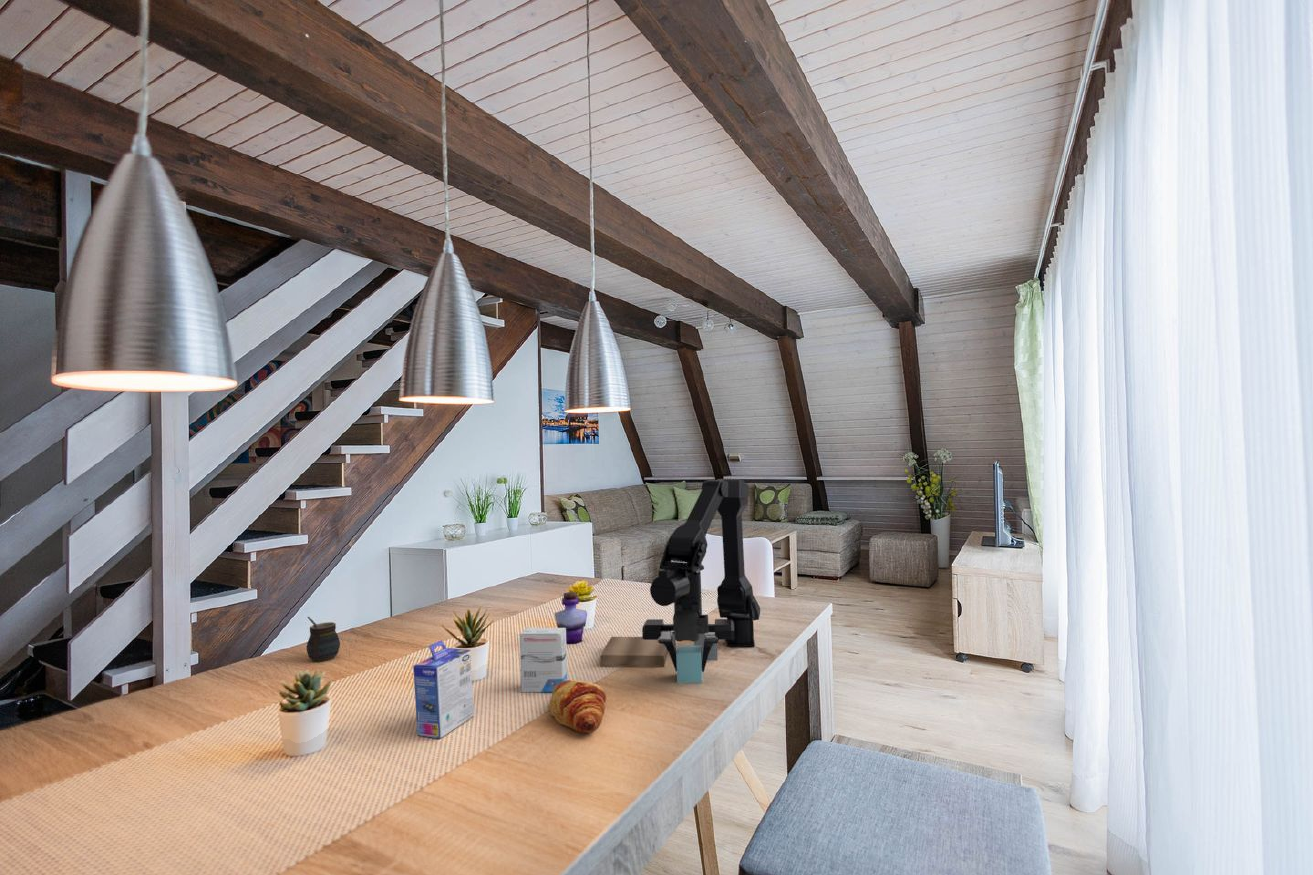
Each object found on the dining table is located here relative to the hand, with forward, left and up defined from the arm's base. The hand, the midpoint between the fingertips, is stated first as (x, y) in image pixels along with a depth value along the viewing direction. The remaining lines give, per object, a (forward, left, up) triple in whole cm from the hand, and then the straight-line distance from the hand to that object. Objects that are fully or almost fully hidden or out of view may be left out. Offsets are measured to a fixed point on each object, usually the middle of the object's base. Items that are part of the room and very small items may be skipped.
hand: (689, 670), depth 136 cm
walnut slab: (+13, -14, -2) cm, 19 cm away
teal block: (0, 0, -2) cm, 2 cm away
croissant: (+19, +19, -2) cm, 27 cm away
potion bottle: (+31, -26, -2) cm, 40 cm away
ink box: (+29, +6, -2) cm, 30 cm away
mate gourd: (+88, -12, -2) cm, 89 cm away
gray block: (-3, -14, -2) cm, 14 cm away
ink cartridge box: (+42, +24, -2) cm, 48 cm away
